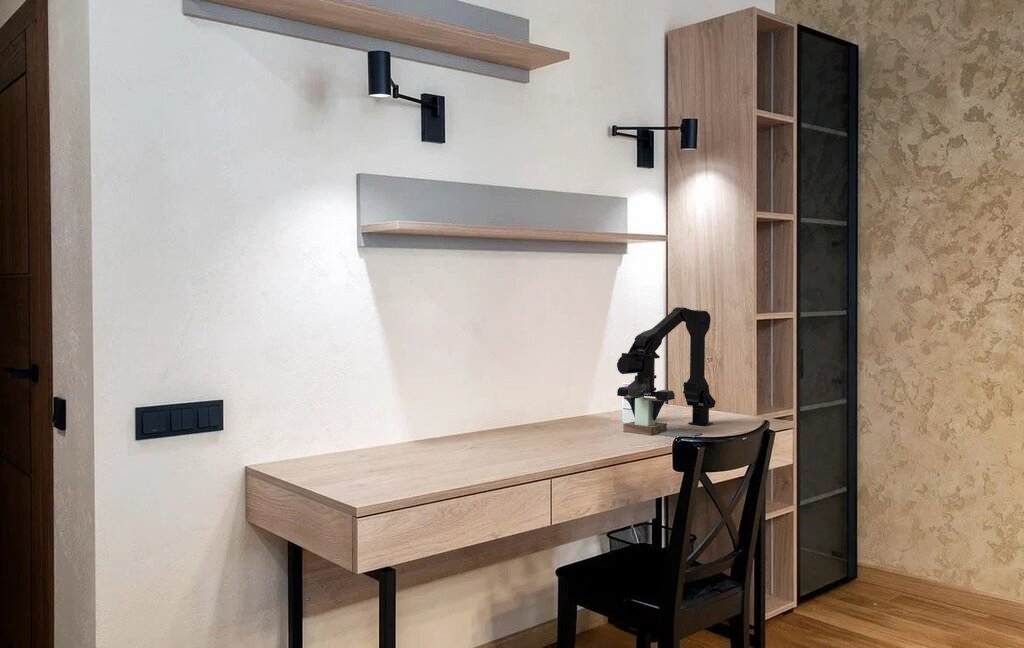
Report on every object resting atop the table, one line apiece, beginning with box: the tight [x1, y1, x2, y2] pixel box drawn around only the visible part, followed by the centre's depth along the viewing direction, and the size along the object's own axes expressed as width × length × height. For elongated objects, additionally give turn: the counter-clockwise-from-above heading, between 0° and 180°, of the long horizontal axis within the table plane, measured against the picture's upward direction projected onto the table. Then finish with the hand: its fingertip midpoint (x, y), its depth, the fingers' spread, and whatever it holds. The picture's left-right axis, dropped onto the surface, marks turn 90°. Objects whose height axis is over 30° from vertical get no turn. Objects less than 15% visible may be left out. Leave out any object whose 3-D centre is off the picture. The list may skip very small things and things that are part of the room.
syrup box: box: [621, 380, 645, 424], centre depth 299 cm, size 6×6×14 cm
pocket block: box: [622, 421, 668, 436], centre depth 282 cm, size 10×10×2 cm
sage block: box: [635, 396, 656, 426], centre depth 281 cm, size 5×5×11 cm
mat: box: [659, 428, 702, 438], centre depth 276 cm, size 10×10×1 cm
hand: (645, 419), depth 282 cm, fingers open, 7 cm apart
